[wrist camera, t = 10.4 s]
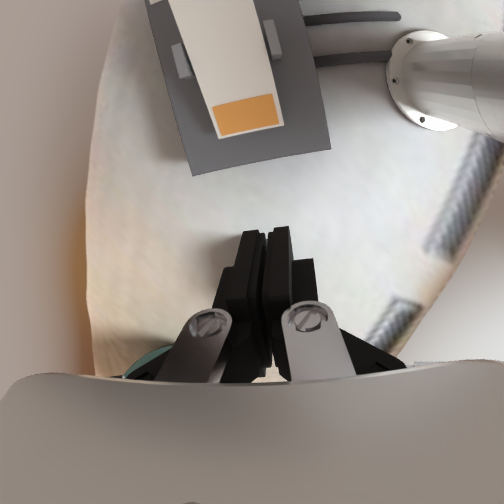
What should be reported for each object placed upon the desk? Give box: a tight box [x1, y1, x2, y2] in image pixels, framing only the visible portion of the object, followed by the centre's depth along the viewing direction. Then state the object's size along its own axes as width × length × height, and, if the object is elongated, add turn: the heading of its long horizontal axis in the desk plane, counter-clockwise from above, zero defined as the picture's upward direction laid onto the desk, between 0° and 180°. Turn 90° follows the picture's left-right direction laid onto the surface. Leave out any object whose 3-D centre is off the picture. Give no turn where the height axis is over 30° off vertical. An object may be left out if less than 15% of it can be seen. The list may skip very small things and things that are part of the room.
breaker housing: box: [145, 0, 331, 176], centre depth 25 cm, size 14×22×11 cm, turn 13°
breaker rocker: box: [168, 0, 284, 139], centre depth 21 cm, size 6×16×1 cm, turn 13°
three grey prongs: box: [303, 12, 401, 67], centre depth 26 cm, size 12×10×1 cm
